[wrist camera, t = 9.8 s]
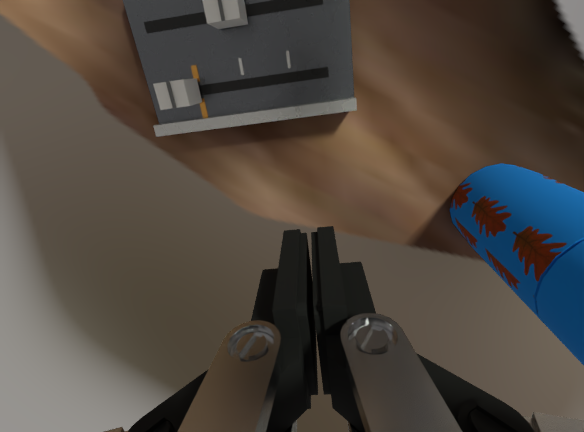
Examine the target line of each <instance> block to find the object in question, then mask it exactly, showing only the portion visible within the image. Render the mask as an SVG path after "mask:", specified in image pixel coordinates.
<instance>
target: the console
mask: <svg viewBox="0 0 584 432" xmlns="http://www.w3.org/2000/svg"><path fill="white" fill-rule="evenodd" d="M244 2H245V8H246V14H247V20H248V25H242V26H235V27H229V28H223V29H217V28H215V27H213V26H211V25H209V24H207V21H206V16H205V11H204V6H203V1H202V0H123V3H124V6H125V9H126V13H127V16H128V20H129V23H130V26H131V30H132V33H133V36H134V40H135V43H136V47H137V50H138V53H139V57H140V60H141V63H142V67H143V70H144V74H145V77H146V80H147V84H148V87H149V90H150V94H151V97H152V101H153V104H154V107H155V111H156V114H157V117H158V121H159V124H157V125H154V126H153V127H154V131H155V134H156V137H158V136H166V135H173V134H181V133H189V132H196V131H204V130H211V129H219V128H226V127H234V126H241V125H249V124H257V123H264V122H272V121H279V120H287V119H294V118H302V117H310V116H317V115H325V114H332V113H340V112H347V111H355V110H357V106H356V98H355V97H354V86H353V65H352V45H351V24H350V4H349V0H244ZM182 79H197V82H198V86H199V90H200V95H201V99H202V103H198V104H195V105H191V106H186V107H179V108H171V109H164V110H160V106H159V103H158V99H157V96H156V92H155V89H154V85H153V84H155V83H162V82H168V81H175V80H182Z"/></svg>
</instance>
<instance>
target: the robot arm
mask: <svg viewBox="0 0 584 432" xmlns="http://www.w3.org/2000/svg"><path fill="white" fill-rule="evenodd" d="M317 231H318V232H312V233H311V237H312V274H311V266H310V257H309V249H308V240H307V233H301V232H300V230H299V229H297V230H287V231H284V233H283V241H282V247H281V254H280V260H279V267H278V268H277V269H265V270H263V272H262V275H261V279H260V284H259V289H258V293H257V297H256V301H255V306H254V310H253V315H252V319H251V321H249V322H246V323H243V324H241V325H239V326H237V327H235V328H234V329H233V330H232V331H230V332H229V333H228V334H227V335H226V337H225V338H224V340H223V342H222V344H221V346H220V348H219V350H218V352H217V354H216V356H215V358H214V360H213V362H212V364H211V366H210V368H209V369H208V370H207V371H205V372H204V373H203V374H201V375H200V376H199V377H197V378H196V379H194V380H193V381H192V382H190V383H189V384H188V385H186V386H185V387H184V388H182V389H181V390H179V391H178V392H177V393H175V394H174V395H172V396H171V397H170V398H168V399H167V400H165V401H164V402H163V403H161V404H160V405H159V406H157V407H156V408H154V409H153V410H152V411H150V412H149V413H147V414H146V415H145V416H143V417H142V418H141V419H140V420H139V421H137V422H136V423H135V424H134V425H133V426H132V427H131V428H130V429H129V431H124V430H123V428H122V427H120V428H116V429H112V430H109V431H105V432H297V421H296V420H297V419H298V418H299V417H300V416H301V415H302V414H303V413H304V412H305V411H306V410H307V409H310V408H311V395H318V381H317V354H316V353H317V352H316V334H317V342H318V350H319V358H320V366H321V374H322V383H323V391H324V394H331V397H332V406H333V409H335V410H336V411H337V412H338V413H339V414H340V415H342V416H343V417H344V418H345V419H346V420H347V421H348V429H349V432H584V420H578V419H572V418H566V417H560V416H554V415H548V414H542V413H536V412H533V415H532V418H531V417H526V416H522V415H521V414H520V413H519V412H517V411H516V410H514V409H513V408H512V407H510V406H509V405H507V404H506V403H504V402H502V401H500V400H499V399H497V398H495V397H493V396H492V395H490V394H488V393H486V392H485V391H483V390H481V389H479V388H477V387H475V386H474V385H472V384H470V383H469V382H467V381H465V380H463V379H461V378H460V377H457V376H456V375H454V374H452V373H451V372H449V371H447V370H445V369H444V368H442V367H440V366H438V365H436V364H435V363H433V362H431V361H429V360H428V359H426V358H424V357H422V356H420V355H419V354H417V353H416V352H415V350H414V349H413V347H412V345H411V343H410V342H409V340H408V338H407V337H406V335H405V333H404V331H403V330H402V329H401V327H400V326H399V325H398V324H397V323H396V322H395V321H393V320H392V319H391V318H389V317H386V316H384V315H381V314H376V312H375V308H374V305H373V301H372V298H371V294H370V291H369V288H368V284H367V280H366V277H365V273H364V270H363V266H362V263H361V262H351V263H339V258H338V252H337V246H336V240H335V234H334V228H333V226H330V227H319V228H317ZM312 277H313V282H312Z"/></svg>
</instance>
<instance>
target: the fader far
mask: <svg viewBox="0 0 584 432" xmlns="http://www.w3.org/2000/svg"><path fill="white" fill-rule="evenodd" d="M153 85H154V89H155V92H156V96H157V99H158V103H159V106H160V110H164V109H171V108H179V107H186V106H191V105H195V104H198V103H202V99H201V95H200V90H199V86H198V82H197V79H182V80H175V81H168V82H162V83H155V84H153Z"/></svg>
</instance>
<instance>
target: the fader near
mask: <svg viewBox="0 0 584 432" xmlns="http://www.w3.org/2000/svg"><path fill="white" fill-rule="evenodd" d="M202 1H203V6H204V11H205V16H206V21H207V24H209V25H211V26H213V27H215V28H217V29H223V28H229V27H235V26H242V25H248V20H247V14H246V8H245V2H244V0H202Z"/></svg>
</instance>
